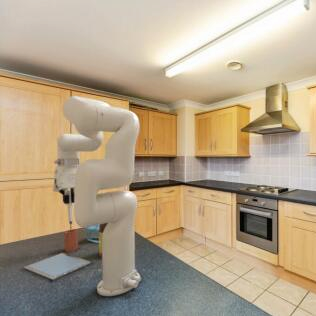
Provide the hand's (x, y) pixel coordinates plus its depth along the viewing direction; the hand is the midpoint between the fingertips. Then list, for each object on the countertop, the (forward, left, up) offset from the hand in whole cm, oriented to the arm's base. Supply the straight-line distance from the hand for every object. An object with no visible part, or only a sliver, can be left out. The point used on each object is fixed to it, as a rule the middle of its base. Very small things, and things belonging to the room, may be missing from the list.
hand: (69, 202), depth 96 cm
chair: (+1, -13, -22) cm, 26 cm away
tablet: (-11, +10, -22) cm, 26 cm away
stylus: (-1, 0, -9) cm, 9 cm away
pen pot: (0, -1, -22) cm, 22 cm away
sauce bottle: (-19, -5, -22) cm, 30 cm away
